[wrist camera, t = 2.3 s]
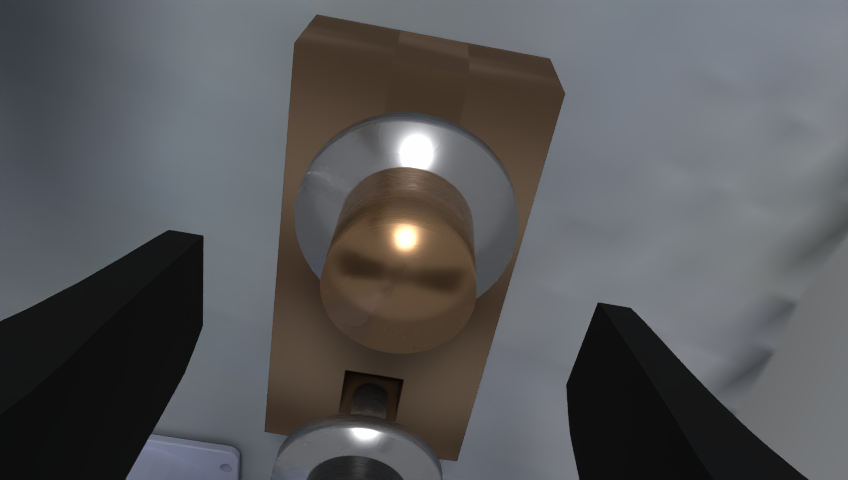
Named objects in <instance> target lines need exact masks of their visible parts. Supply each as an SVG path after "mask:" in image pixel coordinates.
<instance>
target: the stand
mask: <svg viewBox="0 0 848 480" xmlns="http://www.w3.org/2000/svg"><path fill="white" fill-rule="evenodd" d="M564 96H565V92H564V90H563V88H562V85H561V83H560V81H559V78H558V76H557V74H556V72H555V69H554V67H553V65H552V62H551V60H550V59H548V58H543V57H538V56H533V55H527V54H522V53H517V52H511V51H506V50H501V49H496V48H490V47H485V46H480V45H474V44H469V43H464V42H459V41H453V40H448V39H443V38H437V37H432V36H427V35H422V34H416V33H411V32H406V31H401V30H395V29H390V28H385V27H379V26H374V25H369V24H364V23H358V22H353V21H348V20H342V19H337V18H332V17H327V16H321V15H316V16H315V17H314V19H313V20H312V21H311V22H310V24H309V25H308V26H307V28H306V29H305V30H304V31H303V33H302V34H301V35H300V36H299V38H298V39H297V40H296V42H295V43H294V54H293V67H292V80H291V93H290V106H289V119H288V132H287V145H286V159H285V172H284V185H283V198H282V211H281V224H280V237H279V250H278V263H277V276H276V289H275V302H274V315H273V328H272V342H271V355H270V368H269V381H268V394H267V407H266V420H265V432H269V433H276V434H282V435H290V434H291V433H293V432H294V431H295V430H296V429H298V428H299V427H301V426H303V425H304V424H306V423H309V422H311V421H313V420H316V419H319V418H323V417H327V416H332V415H340V414H350V409H351V404H352V398H353V393H354V390H355V389H356V388H357V387H358V386H360V385H362V384H366V383H373V384H377V385H380V386H381V387H383V388H384V389H385V390H386V391H387V393H388V405H387V413H386V419H388V420H391V421H394V422H396V423H398V424H401V425H403V426H405V427H407V428H408V429H410V430H412V431H414V432H415V433H416V434H418V435H419V436H421V437H422V438H423V439H424V440H425V441H426V442H427V443H428V444H429V445H430V446H431V448H432V449H433V450H434V452H435V453H436V455H437V457H438V458H439V459H445V460H452V461H457V459H458V456H459V452H460V449H461V446H462V442H463V439H464V435H465V432H466V429H467V425H468V422H469V418H470V415H471V412H472V408H473V405H474V401H475V398H476V395H477V391H478V388H479V384H480V381H481V378H482V374H483V371H484V367H485V364H486V361H487V357H488V354H489V350H490V347H491V344H492V340H493V337H494V333H495V330H496V327H497V323H498V320H499V316H500V313H501V310H502V306H503V303H504V299H505V296H506V293H507V289H508V286H509V282H510V279H511V276H512V272H513V269H514V265H515V262H516V259H517V255H518V252H519V248H520V245H521V242H522V238H523V235H524V231H525V228H526V225H527V221H528V218H529V214H530V211H531V208H532V204H533V201H534V197H535V194H536V191H537V187H538V184H539V180H540V177H541V174H542V170H543V167H544V163H545V160H546V157H547V153H548V150H549V146H550V143H551V140H552V136H553V133H554V129H555V126H556V123H557V119H558V116H559V112H560V109H561V106H562V102H563V99H564ZM394 112H414V113H423V114H429V115H433V116H437V117H441V118H444V119H446V120H449V121H451V122H454V123H456V124H458V125H460V126H462V127H464V128H466V129H467V130H469V131H471V132H472V133H473V134H475V135H476V136H478V137H479V138H480V139H482V140H483V141H484V142H485V143H486V144H487V145H488V146H489V147H490V148H491V149H492V150H493V152H494V153H495V154H496V155H497V157H498V158H499V159H500V160H501V162H502V164H503V165H504V167H505V169H506V171H507V173H508V175H509V177H510V180H511V182H512V185H513V189H514V193H515V198H516V204H517V210H518V220H519V225H518V237H517V242H516V246H515V249H514V252H513V255H512V257H511V260H510V262H509V263H508V265H507V267H506V269H505V271H504V272H503V273H502V275H501V276H500V277H499V279H498V280H497V281H496V282H495V283H494V284H493V285H492V286H491V287H490V288H489V289H488V290H487V291H486V292H485V293H483V294H482V295H481V296H480V297H478V298H477V299H476V302H475V307H474V309H473V312H472V315H471V317H470V318H469V320H468V322H467V323H466V325H465V326H464V327H463V328H462V329H461V330H460V331H459V333H458V334H456V335H455V336H454V337H453V338H451V339H450V340H448V341H447V342H445V343H443V344H442V345H439V346H437V347H435V348H432V349H429V350H426V351H421V352H416V353H407V354H396V353H387V352H382V351H377V350H374V349H371V348H368V347H366V346H364V345H361V344H359V343H357V342H356V341H354V340H352V339H351V338H349V337H348V336H347V335H345V334H344V333H343V332H342V331H341V330H340V329H339V328H337V326H336V325H335V324H334V323H333V322H332V320H331V319H330V317H329V316H328V314H327V312H326V310H325V308H324V306H323V302H322V299H321V293H320V279H319V278H318V277H317V275H316V274H315V273H314V272H313V270H312V269H311V267H310V266H309V264H308V263H307V261H306V259H305V257H304V255H303V253H302V251H301V248H300V246H299V242H298V239H297V235H296V229H295V205H296V199H297V194H298V191H299V188H300V185H301V183H302V180H303V178H304V176H305V174H306V172H307V170H308V168H309V166H310V164H311V162H312V160H313V159H314V157H315V156H316V154H317V153H318V151H319V150H320V149H321V148H322V147H323V146H324V145H325V144H326V143H327V142H328V141H329V140H330V139H331V138H332V137H333V136H335V135H336V134H337V133H338V132H340V131H341V130H343V129H345V128H346V127H348V126H350V125H352V124H354V123H356V122H358V121H361V120H363V119H366V118H369V117H373V116H376V115H380V114H387V113H394Z"/></svg>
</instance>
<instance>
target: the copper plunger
mask: <svg viewBox="0 0 848 480" xmlns="http://www.w3.org/2000/svg"><path fill="white" fill-rule="evenodd" d="M518 225H519V220H518V210H517V204H516V198H515V193H514V189H513V185H512V182H511V180H510V177H509V175H508V173H507V171H506V169H505V167H504V165H503V164H502V162H501V160H500V159H499V158H498V157H497V155H496V154H495V153H494V152H493V150H492V149H491V148H490V147H489V146H488V145H487V144H486V143H485V142H484V141H483V140H482V139H480V138H479V137H478V136H476V135H475V134H473V133H472V132H471V131H469V130H467V129H466V128H464V127H462V126H460V125H458V124H456V123H454V122H451V121H449V120H446V119H444V118H441V117H437V116H433V115H429V114H423V113H414V112H394V113H387V114H380V115H376V116H373V117H369V118H366V119H363V120H361V121H358V122H356V123H354V124H352V125H350V126H348V127H346V128H345V129H343V130H341V131H340V132H338V133H337V134H336V135H335V136H333V137H332V138H331V139H330V140H329V141H328V142H327V143H326V144H325V145H324V146H323V147H322V148H321V149H320V150H319V151H318V153H317V154H316V156H315V157H314V159H313V160H312V162H311V164H310V166H309V168H308V170H307V172H306V174H305V176H304V178H303V180H302V183H301V185H300V188H299V191H298V194H297V199H296V205H295V229H296V235H297V239H298V242H299V246H300V248H301V251H302V253H303V255H304V257H305V259H306V261H307V263H308V264H309V266H310V267H311V269H312V270H313V272H314V273H315V274H316V275H317V277H318V278H319V279H320V293H321V299H322V302H323V306H324V308H325V310H326V312H327V314H328V316H329V317H330V319H331V320H332V322H333V323H334V324H335V325H336V326H337V328H339V329H340V330H341V331H342V332H343V333H344V334H345V335H347V336H348V337H349V338H351V339H352V340H354V341H356V342H357V343H359V344H361V345H364V346H366V347H368V348H371V349H374V350H377V351H382V352H387V353H396V354H407V353H416V352H421V351H426V350H429V349H432V348H435V347H437V346H439V345H442V344H443V343H445V342H447V341H448V340H450V339H451V338H453V337H454V336H455V335H456V334H458V333H459V331H460V330H461V329H462V328H463V327H464V326H465V325H466V323H467V322H468V320H469V318H470V317H471V315H472V312H473V309H474V307H475V302H476V299H477V298H478V297H480V296H481V295H482V294H483V293H485V292H486V291H487V290H488V289H489V288H490V287H491V286H492V285H493V284H494V283H495V282H496V281H497V280H498V279H499V277H500V276H501V275H502V273H503V272H504V271H505V269H506V267H507V265H508V263H509V262H510V260H511V257H512V255H513V252H514V249H515V246H516V242H517V237H518Z"/></svg>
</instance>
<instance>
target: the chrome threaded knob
mask: <svg viewBox="0 0 848 480" xmlns="http://www.w3.org/2000/svg"><path fill="white" fill-rule="evenodd" d="M387 405H388V393H387V391H386V390H385V389H384V388H383V387H381V386H380V385H377V384H373V383H366V384H362V385H360V386H358V387H357V388H356V389H355V390H354V393H353V398H352V404H351V409H350V414H340V415H332V416H327V417H323V418H319V419H316V420H313V421H311V422H309V423H306V424H304V425H303V426H301V427H299V428H298V429H296V430H295V431H294V432H293V433H291V434H290V435H289V436H288V437H287V438H286V440H285V441H284V442H283V444H282V445H281V447H280V449H279V451H278V454H277V457H276V461H275V464H274V468H273V471H272V476H271V480H442V468H441V464H440V461H439V459H438V457H437V455H436V453H435V452H434V450H433V449H432V448H431V446H430V445H429V444H428V443H427V442H426V441H425V440H424V439H423V438H422V437H421V436H419V435H418V434H416V433H415V432H414V431H412V430H410V429H408V428H407V427H405V426H403V425H401V424H398V423H396V422H394V421H391V420H388V419H386V413H387Z"/></svg>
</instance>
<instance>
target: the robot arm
mask: <svg viewBox="0 0 848 480" xmlns="http://www.w3.org/2000/svg"><path fill="white" fill-rule="evenodd" d="M202 327H203V236H202V235H196V234H190V233H184V232H178V231H172V230H168V231H166V232H164V233H162V234H161V235H159V236H157V237H155V238H154V239H152V240H150V241H149V242H147V243H145V244H144V245H142V246H140V247H139V248H137V249H135V250H134V251H132V252H130V253H129V254H127V255H125V256H124V257H122V258H120V259H119V260H117V261H115V262H113V263H112V264H110V265H108V266H106V267H105V268H103V269H101V270H100V271H98V272H96V273H94V274H93V275H91V276H89V277H87V278H86V279H84V280H82V281H80V282H78V283H77V284H75V285H73V286H71V287H69V288H67V289H65V290H63V291H61V292H59V293H57V294H55V295H53V296H51V297H49V298H48V299H46V300H44V301H42V302H40V303H38V304H36V305H34V306H32V307H30V308H28V309H26V310H24V311H22V312H20V313H17V314H15V315H13V316H11V317H9V318H6V319H4V320H2V321H0V480H239V471H240V452H239V451H238V450H237V449H236V448H234V447H231V446H227V445H220V444H214V443H207V442H200V441H194V440H187V439H181V438H174V437H168V436H161V435H154V434H151V433H152V431H153V430H154V428H155V426H156V424H157V422H158V421H159V419H160V417H161V415H162V414H163V412H164V410H165V408H166V406H167V404H168V403H169V401H170V399H171V397H172V395H173V394H174V392H175V390H176V388H177V386H178V384H179V383H180V381H181V379H182V377H183V375H184V373H185V371H186V368H187V366H188V363H189V361H190V358H191V356H192V353H193V351H194V348H195V345H196V343H197V340H198V337H199V335H200V332H201V330H202ZM566 387H567V403H568V417H569V428H570V436H571V441H572V446H573V451H574V456H575V461H576V465H577V470H578V475H579V479H580V480H808V479H807V478H806V477H804V476H803V475H802V474H801V473H799V472H798V471H797V470H796V469H795V468H793V467H792V466H791V465H790V464H788V463H787V462H786V461H785V460H784V459H782V458H781V457H780V456H779V455H777V454H776V453H775V452H774V451H773V450H771V449H770V448H769V447H768V446H767V445H766V444H764V443H763V442H762V441H761V440H760V439H759V438H758V437H757V436H755V435H754V434H753V433H752V432H751V431H750V430H749V429H748V428H747V427H746V426H745V425H743V424H742V423H741V422H740V421H739V420H738V419H737V418H736V417H735V416H734V415H733V414H732V413H731V412H730V411H729V410H728V409H727V408H726V407H725V406H723V405H722V404H721V403H720V402H719V401H718V400H717V399H716V398H715V397H714V396H713V395H712V394H711V393H710V392H709V391H708V390H707V388H706V387H705V386H704V385H703V384H702V383H701V382H700V381H699V380H698V379H697V378H696V377H695V376H694V375H693V374H692V373H691V372H690V371H689V370H688V369H687V368H686V366H685V365H684V364H683V363H682V362H681V361H680V360H679V359H678V358H677V357H676V356H675V355H674V353H673V352H672V351H671V350H670V349H669V348H668V347H667V346H666V345H665V344H664V342H663V341H662V340H661V339H660V338H659V337H658V336H657V335H656V334H655V333H654V332H653V330H652V329H651V328H650V327H649V326H648V325H647V324H646V323H645V322H644V321H643V320H642V319H641V318H640V317H639V316H638V315H637V314H636V313H635V312H634V311H633V310H632V309H631V308H628V307H622V306H616V305H610V304H605V303H599V302H598V304H597V306H596V309H595V312H594V314H593V317H592V319H591V322H590V325H589V327H588V330H587V332H586V335H585V338H584V340H583V343H582V345H581V348H580V351H579V353H578V356H577V359H576V361H575V364H574V366H573V369H572V372H571V374H570V377H569V379H568V382H567V385H566ZM227 464H228V465H227Z"/></svg>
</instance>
